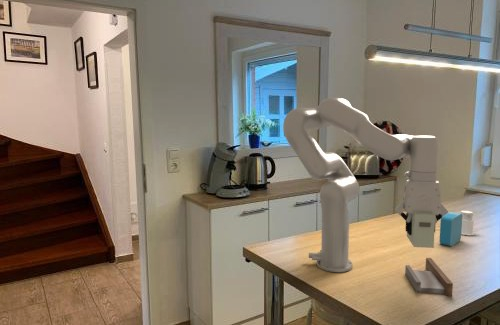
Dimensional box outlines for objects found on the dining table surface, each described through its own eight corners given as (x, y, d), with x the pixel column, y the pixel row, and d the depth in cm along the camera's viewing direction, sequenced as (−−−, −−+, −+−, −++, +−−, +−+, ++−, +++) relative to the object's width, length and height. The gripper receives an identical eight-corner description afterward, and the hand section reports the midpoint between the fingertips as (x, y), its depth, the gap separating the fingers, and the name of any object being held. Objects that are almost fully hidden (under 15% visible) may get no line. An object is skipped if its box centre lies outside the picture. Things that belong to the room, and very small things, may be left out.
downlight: (472, 237, 166) (474, 214, 165) (454, 234, 170) (456, 212, 169) (475, 233, 172) (477, 211, 171) (457, 230, 176) (459, 209, 175)
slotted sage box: (414, 247, 113) (415, 214, 112) (406, 236, 123) (407, 206, 122) (434, 248, 112) (435, 215, 111) (424, 236, 122) (426, 206, 121)
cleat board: (417, 294, 115) (418, 281, 115) (401, 267, 135) (401, 256, 134) (452, 296, 114) (452, 283, 114) (430, 268, 134) (430, 257, 133)
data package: (449, 237, 165) (451, 210, 164) (461, 240, 162) (462, 212, 161) (439, 244, 157) (440, 216, 156) (450, 247, 154) (452, 218, 152)
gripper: (394, 178, 113) (392, 236, 115) (457, 179, 110) (454, 239, 112) (390, 174, 120) (388, 229, 123) (449, 174, 117) (446, 231, 119)
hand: (419, 233), depth 117 cm, fingers closed on slotted sage box, 5 cm apart
